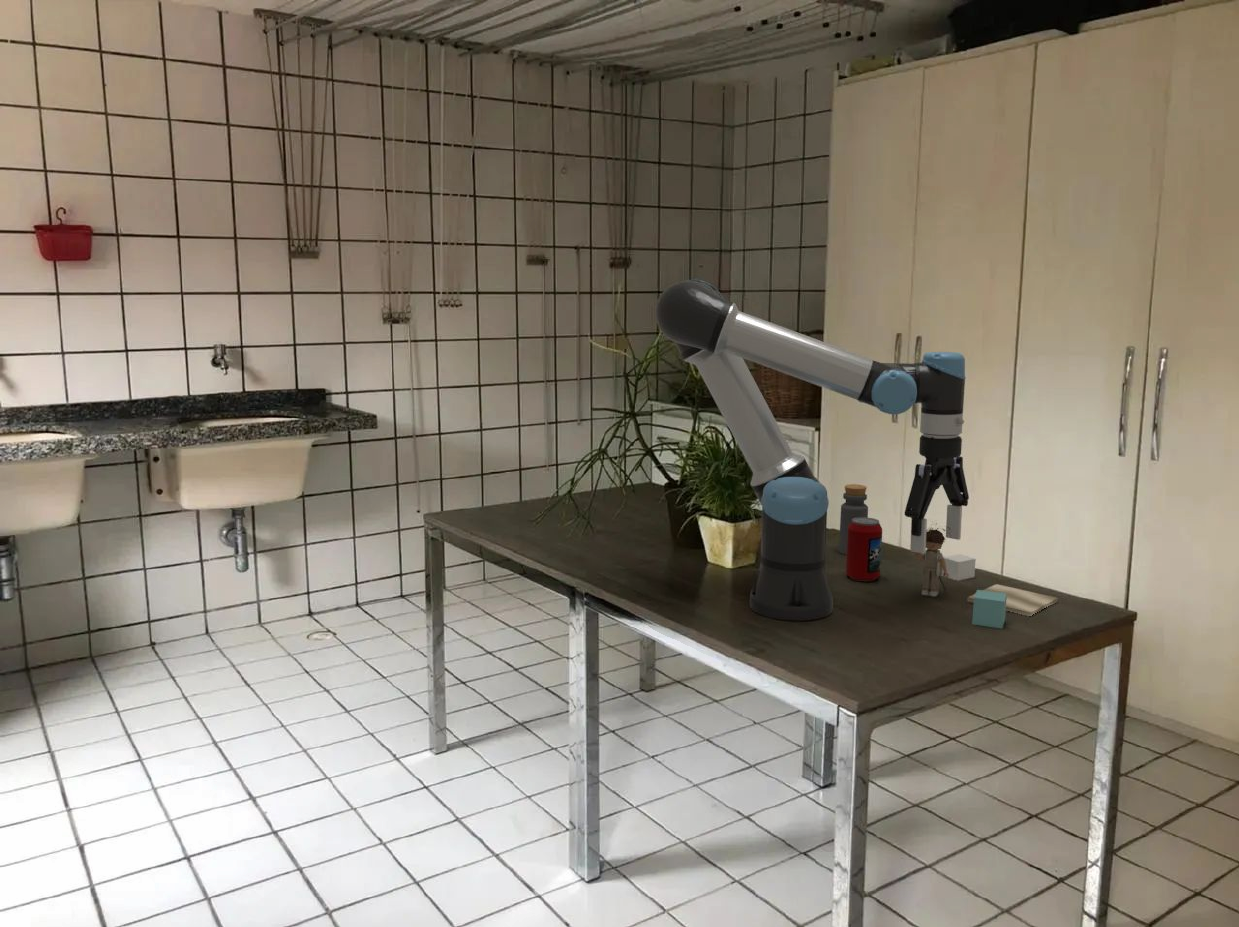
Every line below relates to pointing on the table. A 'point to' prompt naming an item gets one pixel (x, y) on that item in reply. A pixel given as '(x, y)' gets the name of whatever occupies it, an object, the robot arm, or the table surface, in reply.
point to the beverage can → (864, 549)
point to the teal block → (989, 609)
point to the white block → (959, 567)
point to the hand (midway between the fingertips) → (935, 545)
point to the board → (1021, 600)
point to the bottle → (851, 511)
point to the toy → (933, 562)
